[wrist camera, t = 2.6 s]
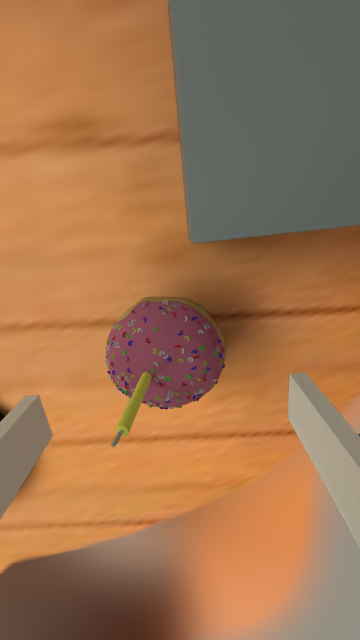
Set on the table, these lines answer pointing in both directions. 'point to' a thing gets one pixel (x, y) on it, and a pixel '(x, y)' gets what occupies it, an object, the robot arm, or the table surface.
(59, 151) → the table surface
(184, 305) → the cupcake
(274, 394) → the table surface
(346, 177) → the plinth
